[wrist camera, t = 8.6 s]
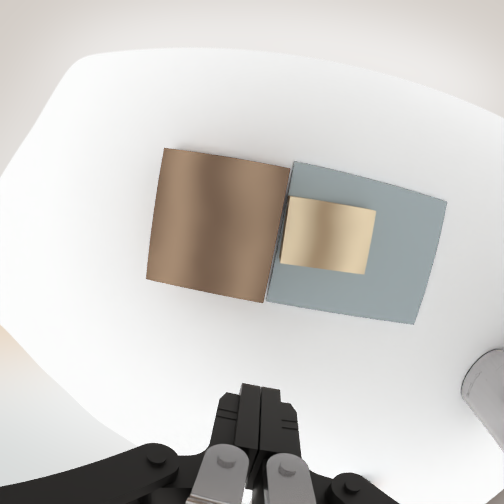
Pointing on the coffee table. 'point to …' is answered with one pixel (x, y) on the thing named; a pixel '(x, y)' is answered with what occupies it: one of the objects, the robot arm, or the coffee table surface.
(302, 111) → the coffee table surface
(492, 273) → the coffee table surface
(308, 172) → the grey mat
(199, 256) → the block
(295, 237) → the oak tile
